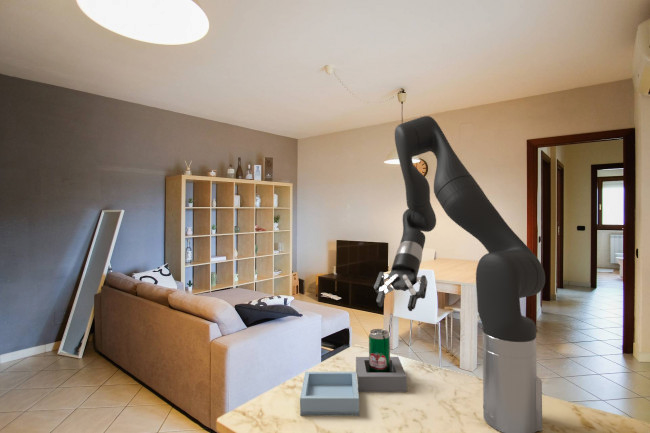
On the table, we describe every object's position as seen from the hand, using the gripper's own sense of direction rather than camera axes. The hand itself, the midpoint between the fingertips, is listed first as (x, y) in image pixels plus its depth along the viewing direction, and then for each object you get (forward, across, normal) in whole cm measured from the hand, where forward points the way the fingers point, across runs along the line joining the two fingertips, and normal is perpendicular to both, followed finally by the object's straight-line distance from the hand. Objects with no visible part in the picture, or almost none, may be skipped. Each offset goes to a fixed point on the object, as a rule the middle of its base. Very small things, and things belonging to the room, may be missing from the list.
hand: (394, 307), depth 94 cm
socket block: (+18, 0, +4) cm, 19 cm away
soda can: (+18, 0, +4) cm, 19 cm away
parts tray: (+28, -6, -6) cm, 29 cm away
